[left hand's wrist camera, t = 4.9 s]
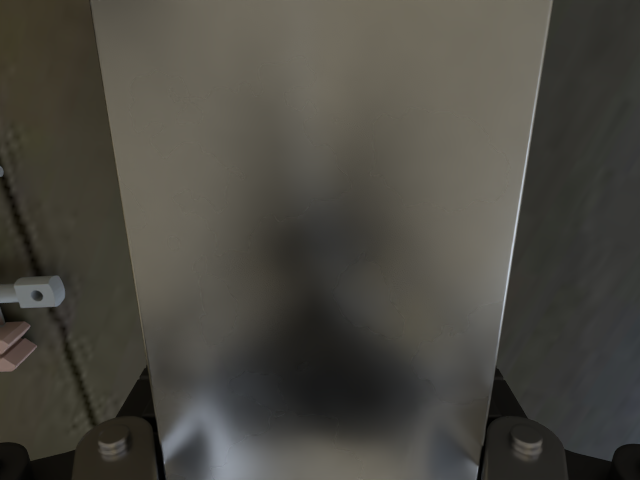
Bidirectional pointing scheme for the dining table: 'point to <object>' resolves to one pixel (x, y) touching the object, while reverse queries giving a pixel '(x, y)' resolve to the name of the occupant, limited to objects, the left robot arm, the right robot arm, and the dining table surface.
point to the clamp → (44, 291)
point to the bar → (321, 224)
